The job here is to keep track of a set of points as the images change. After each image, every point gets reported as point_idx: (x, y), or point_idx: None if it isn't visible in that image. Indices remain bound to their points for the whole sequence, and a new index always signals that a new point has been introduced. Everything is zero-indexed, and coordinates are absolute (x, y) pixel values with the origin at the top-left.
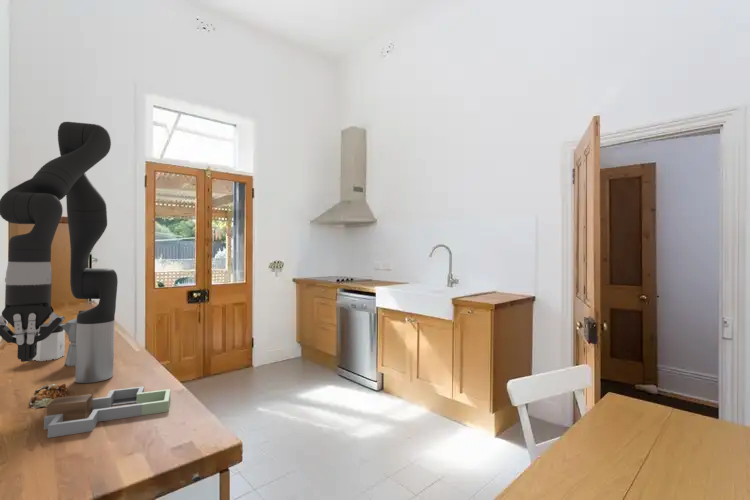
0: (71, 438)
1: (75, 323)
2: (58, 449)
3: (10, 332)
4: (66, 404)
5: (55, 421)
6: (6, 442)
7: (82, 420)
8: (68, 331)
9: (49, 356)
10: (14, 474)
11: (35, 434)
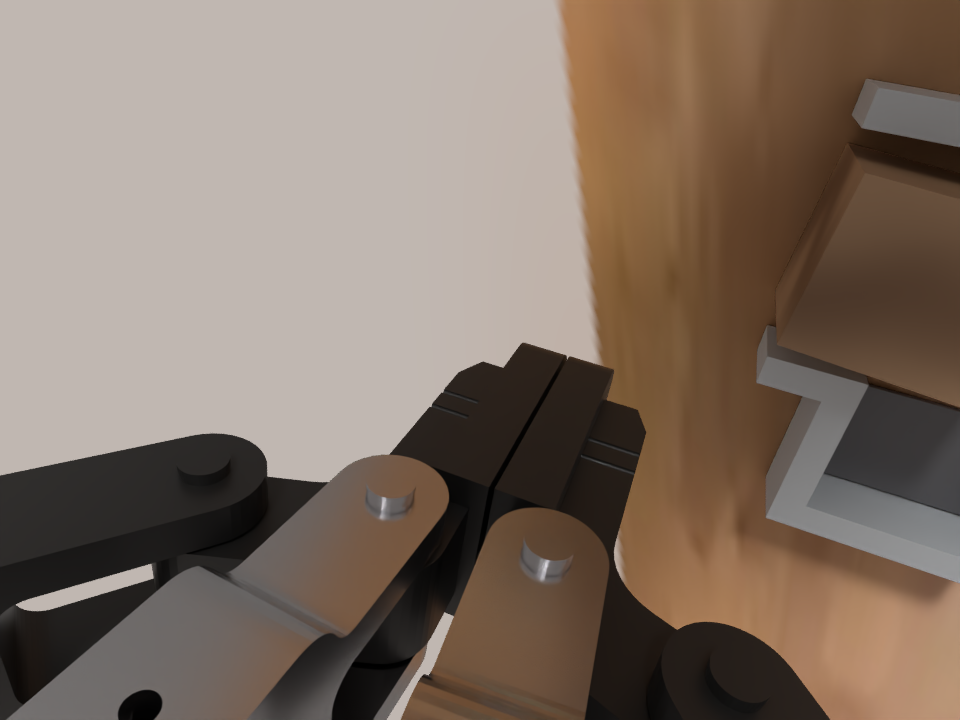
0: (865, 555)
1: None
2: (795, 619)
3: (59, 575)
4: (903, 385)
5: (807, 488)
6: None
7: (944, 574)
8: None
9: None
10: None
11: (716, 389)
